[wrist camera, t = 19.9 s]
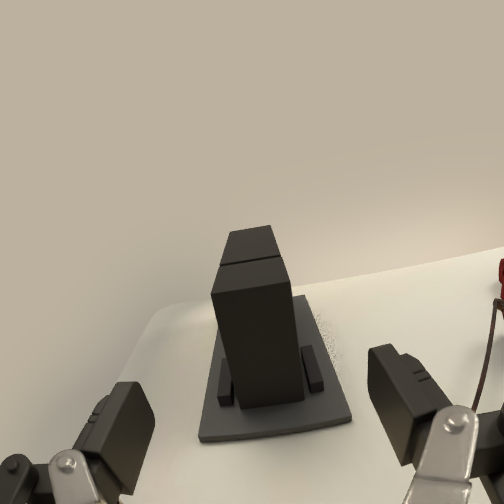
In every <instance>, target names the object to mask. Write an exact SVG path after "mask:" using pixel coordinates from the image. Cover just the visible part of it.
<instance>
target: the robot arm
mask: <svg viewBox="0 0 504 504" xmlns="http://www.w3.org/2000/svg"><path fill="white" fill-rule="evenodd" d="M367 384H368V392H369V396H370V399H371V401H372V403H373V405H374V408H375V410H376V412H377V414H378V416H379V418H380V420H381V423H382V425H383V427H384V429H385V431H386V433H387V436H388V438H389V440H390V442H391V444H392V447H393V449H394V451H395V453H396V456H397V458H398V460H399V462H400V465H401V467H402V466H405V465H407V464H410V463H412V464H413V466H414V468H415V470H416V473H415V475H414V477H413V480H412V482H411V485H410V487H409V489H408V492H407V494H406V496H405V499H404V501H403V503H402V504H468V500H469V497H470V493H471V487H472V483H471V482H469V479H472V478H477V477H479V478H480V480H481V482H482V484H483V486H484V488H485V490H486V492H487V494H488V496H489V499H490V501H491V503H492V504H504V403H503V405H502V408H501V410H498V411H493V412H488V413H482V414H476V413H475V412H474V411H473V410H471V409H470V408H468V407H465V406H460V405H454V406H453V404H452V403H451V402H450V401H449V399H448V398H447V396H446V395H445V394H444V392H443V391H442V390H441V389H440V387H439V386H438V385H437V383H436V382H435V381H434V379H433V378H431V375H430V374H429V373H428V372H427V371H426V370H425V368H424V366H423V365H422V364H421V363H420V361H419V360H418V359H416V358H414V357H412V356H411V355H409V354H407V353H406V354H403V355H399V354H398V352H397V351H396V349H395V348H394V347H393V345H392V344H390V343H389V344H385V345H381V346H378V347H374V348H370V349H369V351H368V381H367ZM154 427H155V417H154V413H153V411H152V409H151V407H150V405H149V402H148V400H147V398H146V396H145V394H144V392H143V389H142V387H141V385H140V384H139V383H138V382H117V383H116V384H115V386H114V388H113V390H112V391H111V393H110V395H107V396H105V397H104V398H103V399H102V400H101V401H100V402H99V403H98V404H97V405H96V407H95V409H94V410H93V412H92V415H91V416H90V417H89V419H88V423H86V425H85V426H84V428H83V430H82V431H81V433H80V435H79V437H78V439H77V440H76V442H75V444H74V446H73V448H72V449H68V450H64V451H61V452H59V453H57V454H56V455H55V456H54V457H53V458H52V459H51V460H50V462H49V464H34V465H33V464H32V463H31V462H30V460H29V459H28V458H27V457H26V456H25V455H22V454H14V455H11V456H9V457H7V458H6V459H5V460H4V461H3V462H2V464H1V465H0V504H26V503H27V504H123V503H122V501H121V500H120V499H119V496H120V494H126V495H133V493H134V490H135V486H136V483H137V480H138V477H139V474H140V471H141V467H142V464H143V461H144V458H145V455H146V452H147V449H148V446H149V443H150V440H151V437H152V434H153V431H154Z"/></svg>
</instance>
